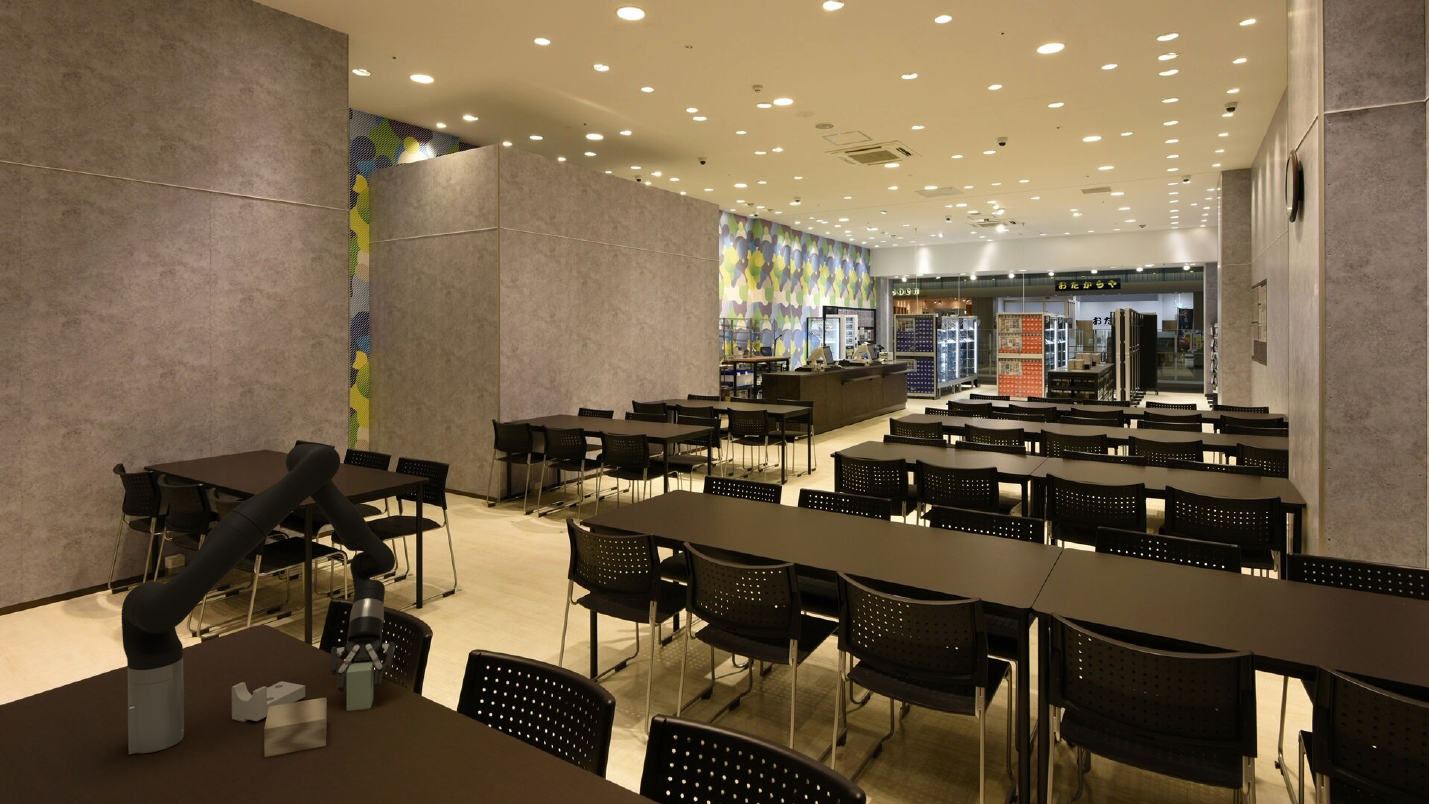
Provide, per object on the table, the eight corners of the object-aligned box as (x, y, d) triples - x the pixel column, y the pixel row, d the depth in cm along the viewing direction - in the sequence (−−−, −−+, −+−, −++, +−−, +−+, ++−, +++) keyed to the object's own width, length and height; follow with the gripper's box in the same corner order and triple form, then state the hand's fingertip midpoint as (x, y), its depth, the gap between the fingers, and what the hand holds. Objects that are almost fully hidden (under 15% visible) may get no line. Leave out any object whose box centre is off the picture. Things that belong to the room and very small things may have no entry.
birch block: (264, 758, 151) (264, 729, 151) (268, 733, 161) (268, 706, 161) (325, 746, 156) (325, 718, 156) (326, 723, 166) (326, 697, 166)
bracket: (256, 725, 164) (256, 691, 164) (232, 720, 166) (231, 686, 166) (305, 700, 177) (305, 669, 176) (281, 695, 179) (281, 664, 178)
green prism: (346, 710, 172) (346, 672, 171) (350, 701, 176) (350, 663, 176) (370, 708, 173) (370, 670, 173) (373, 699, 178) (373, 661, 177)
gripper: (331, 617, 179) (322, 686, 168) (397, 612, 183) (391, 679, 172) (335, 631, 184) (326, 699, 173) (399, 626, 188) (394, 692, 178)
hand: (359, 689), depth 173 cm, fingers open, 6 cm apart
